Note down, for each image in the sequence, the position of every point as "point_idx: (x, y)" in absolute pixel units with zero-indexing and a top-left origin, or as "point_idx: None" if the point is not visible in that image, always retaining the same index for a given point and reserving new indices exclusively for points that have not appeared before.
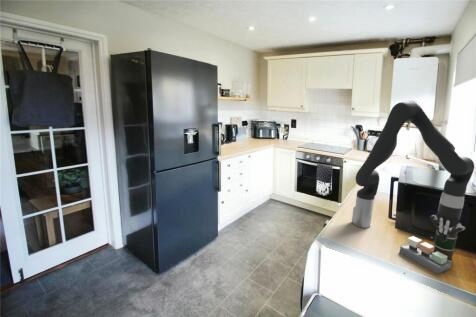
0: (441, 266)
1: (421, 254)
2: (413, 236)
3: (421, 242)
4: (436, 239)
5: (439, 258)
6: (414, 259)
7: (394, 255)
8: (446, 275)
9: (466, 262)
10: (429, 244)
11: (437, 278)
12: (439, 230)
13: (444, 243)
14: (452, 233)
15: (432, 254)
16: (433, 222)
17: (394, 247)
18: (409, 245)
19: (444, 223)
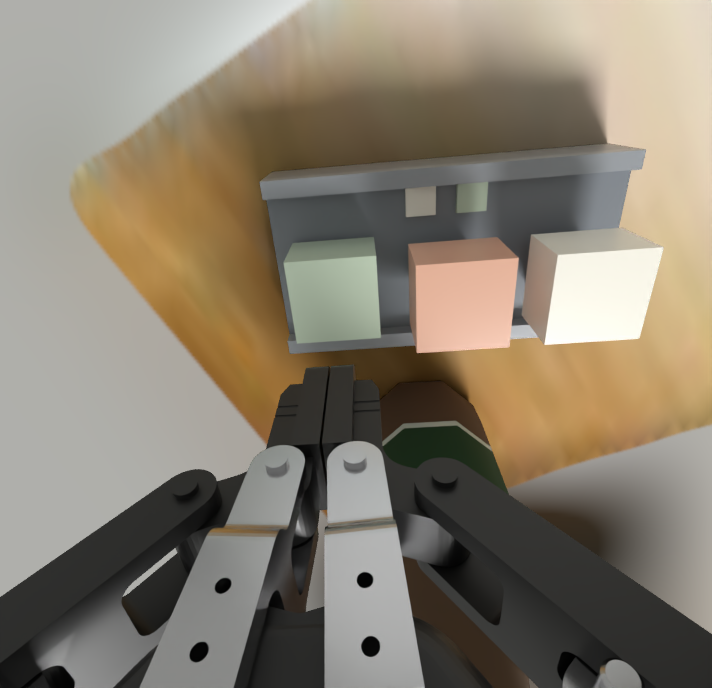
0: (280, 230)
1: (461, 239)
2: (635, 334)
3: (535, 331)
4: (479, 469)
5: (308, 257)
6: (467, 156)
7: (609, 25)
8: (240, 215)
9: None
10: (461, 339)
11: (224, 95)
12: (381, 462)
13: (407, 466)
14: (142, 514)
15: (371, 252)
16: (565, 562)
17: (673, 171)
18: None
19: (308, 679)
